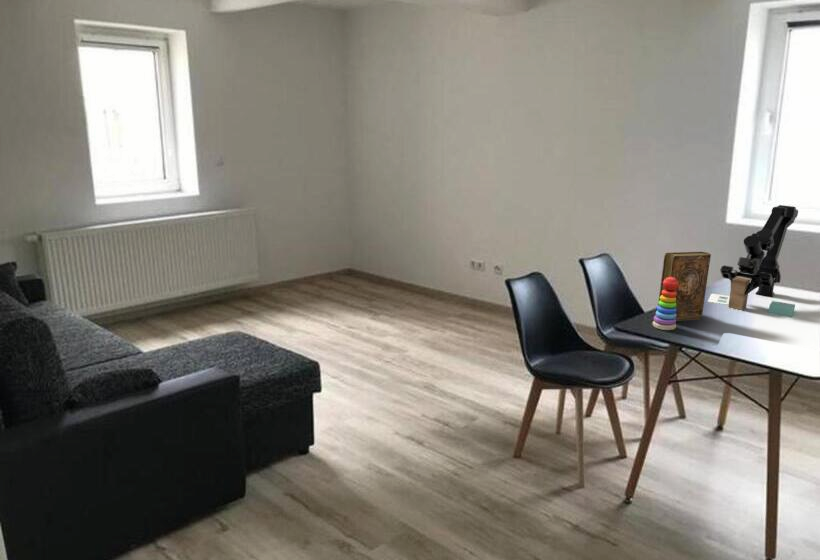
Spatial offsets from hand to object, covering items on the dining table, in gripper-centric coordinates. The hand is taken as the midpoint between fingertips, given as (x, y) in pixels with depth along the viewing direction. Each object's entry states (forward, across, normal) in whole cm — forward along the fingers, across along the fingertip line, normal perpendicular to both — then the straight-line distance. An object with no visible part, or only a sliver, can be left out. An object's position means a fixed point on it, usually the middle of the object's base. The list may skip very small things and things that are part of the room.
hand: (738, 292), depth 258 cm
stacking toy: (+36, -8, -26) cm, 45 cm away
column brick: (+4, 0, +6) cm, 7 cm away
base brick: (-2, +14, +11) cm, 18 cm away
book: (+25, -9, -16) cm, 31 cm away
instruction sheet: (-2, -9, +11) cm, 14 cm away
